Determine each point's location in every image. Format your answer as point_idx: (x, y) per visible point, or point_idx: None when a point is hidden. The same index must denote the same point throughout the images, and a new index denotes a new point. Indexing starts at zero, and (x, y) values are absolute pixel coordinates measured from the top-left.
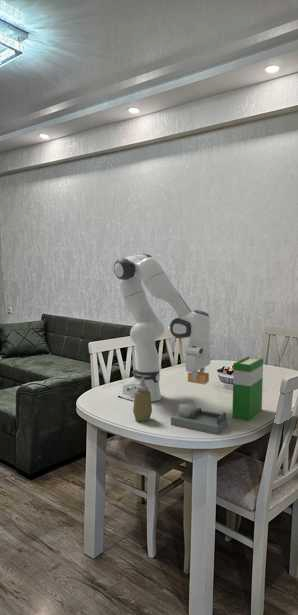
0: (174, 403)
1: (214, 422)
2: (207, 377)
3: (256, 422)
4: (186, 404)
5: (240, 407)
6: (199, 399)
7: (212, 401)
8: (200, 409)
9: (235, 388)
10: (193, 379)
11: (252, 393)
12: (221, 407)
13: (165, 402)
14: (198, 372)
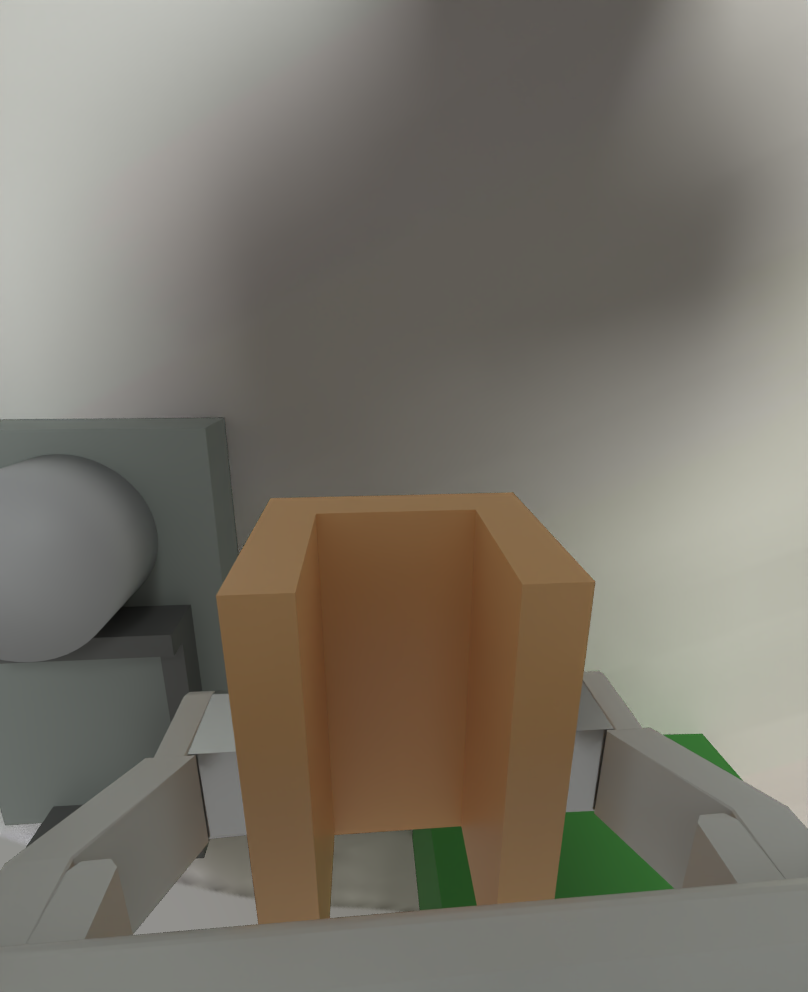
0: (537, 145)
1: (76, 779)
2: (470, 871)
3: (414, 873)
4: (48, 547)
5: (426, 872)
6: (773, 337)
7: (752, 472)
8: (151, 653)
9: None
10: (188, 704)
11: None
12: (616, 596)
13: (524, 15)
14: (506, 771)
